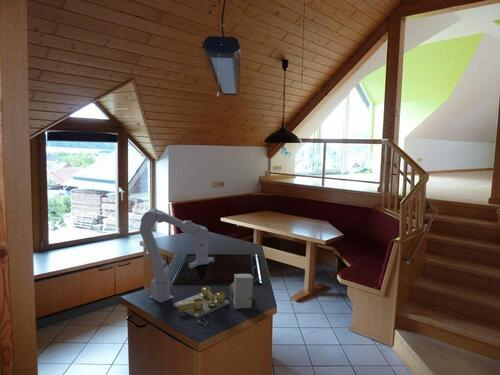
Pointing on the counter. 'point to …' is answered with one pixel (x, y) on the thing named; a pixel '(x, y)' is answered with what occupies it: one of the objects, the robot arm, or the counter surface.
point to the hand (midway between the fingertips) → (201, 278)
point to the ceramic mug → (232, 291)
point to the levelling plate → (205, 304)
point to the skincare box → (243, 291)
